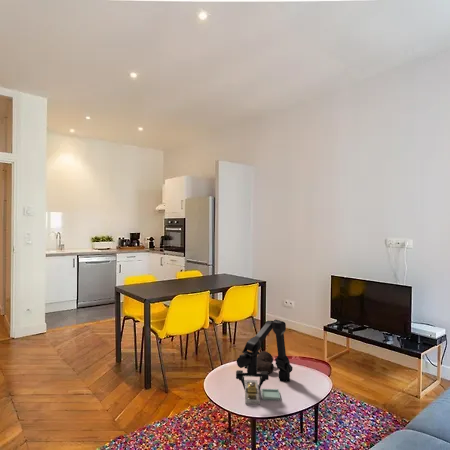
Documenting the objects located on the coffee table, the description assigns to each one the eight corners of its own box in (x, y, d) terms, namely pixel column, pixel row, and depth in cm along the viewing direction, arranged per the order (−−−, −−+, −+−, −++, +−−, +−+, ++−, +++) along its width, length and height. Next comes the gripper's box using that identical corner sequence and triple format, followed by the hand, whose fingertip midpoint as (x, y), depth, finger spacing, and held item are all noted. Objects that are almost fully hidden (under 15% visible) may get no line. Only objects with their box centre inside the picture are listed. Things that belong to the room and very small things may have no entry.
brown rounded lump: (268, 364, 234) (277, 353, 247) (248, 360, 242) (258, 350, 255) (270, 378, 235) (279, 366, 248) (250, 373, 244) (259, 362, 256)
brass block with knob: (255, 393, 210) (255, 381, 210) (255, 397, 206) (256, 385, 206) (247, 393, 210) (247, 381, 210) (247, 397, 206) (248, 384, 206)
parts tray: (278, 391, 213) (278, 389, 212) (280, 400, 203) (280, 397, 202) (261, 391, 213) (261, 388, 213) (262, 399, 203) (262, 397, 203)
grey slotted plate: (257, 384, 222) (257, 380, 222) (259, 404, 198) (259, 399, 198) (244, 383, 222) (244, 379, 222) (245, 403, 198) (245, 399, 198)
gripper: (267, 358, 215) (266, 383, 216) (236, 357, 216) (235, 382, 216) (268, 365, 204) (268, 392, 205) (236, 364, 205) (235, 391, 205)
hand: (251, 389), depth 208 cm, fingers open, 8 cm apart
